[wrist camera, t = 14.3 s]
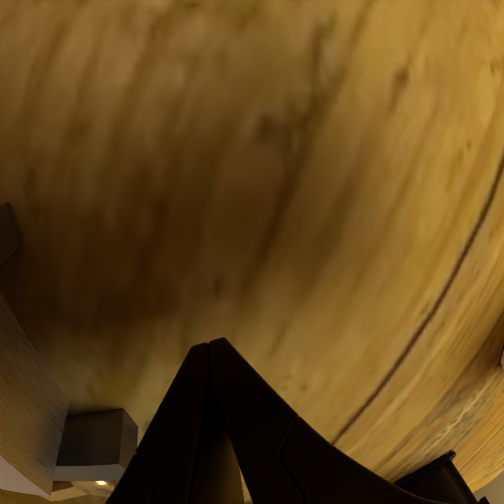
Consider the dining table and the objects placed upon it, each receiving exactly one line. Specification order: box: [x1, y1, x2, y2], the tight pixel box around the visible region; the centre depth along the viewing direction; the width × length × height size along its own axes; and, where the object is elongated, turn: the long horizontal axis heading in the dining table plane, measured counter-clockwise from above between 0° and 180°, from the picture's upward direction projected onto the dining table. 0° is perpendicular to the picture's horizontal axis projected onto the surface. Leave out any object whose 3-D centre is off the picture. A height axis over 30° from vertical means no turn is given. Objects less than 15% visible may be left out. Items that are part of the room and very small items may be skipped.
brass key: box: [40, 480, 115, 502], centre depth 12 cm, size 7×2×1 cm, turn 123°
